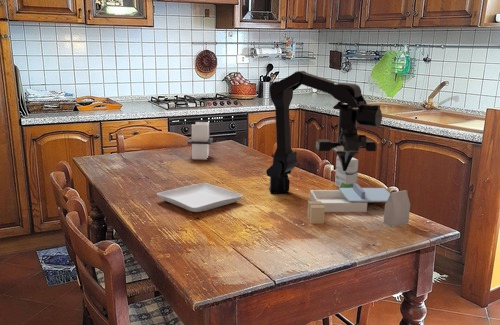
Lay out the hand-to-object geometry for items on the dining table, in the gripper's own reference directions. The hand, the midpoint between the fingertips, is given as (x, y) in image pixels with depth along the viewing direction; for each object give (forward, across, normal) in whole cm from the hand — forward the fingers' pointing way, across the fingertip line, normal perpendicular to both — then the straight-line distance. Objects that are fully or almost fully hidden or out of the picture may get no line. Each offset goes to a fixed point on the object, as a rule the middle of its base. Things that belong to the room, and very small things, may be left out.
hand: (344, 170), depth 157 cm
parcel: (+12, -12, -13) cm, 21 cm away
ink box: (+12, +7, +21) cm, 25 cm away
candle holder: (+12, -49, +70) cm, 86 cm away
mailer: (+12, -2, +1) cm, 12 cm away
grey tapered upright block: (+12, +12, -16) cm, 24 cm away
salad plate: (+13, -48, +4) cm, 49 cm away
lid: (+9, +9, +1) cm, 12 cm away
